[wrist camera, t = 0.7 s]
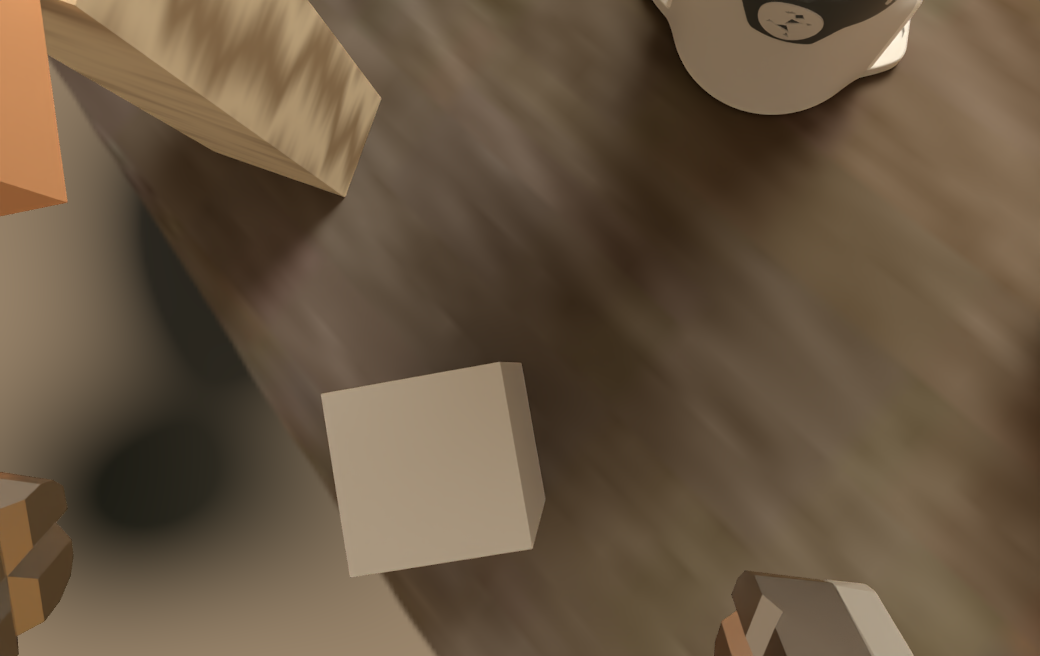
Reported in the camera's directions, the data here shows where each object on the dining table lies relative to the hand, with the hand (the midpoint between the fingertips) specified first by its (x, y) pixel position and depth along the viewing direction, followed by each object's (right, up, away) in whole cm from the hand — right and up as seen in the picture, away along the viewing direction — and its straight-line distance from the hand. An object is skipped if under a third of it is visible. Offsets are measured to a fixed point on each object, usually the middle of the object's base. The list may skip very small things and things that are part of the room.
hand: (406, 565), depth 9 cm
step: (-3, -5, +44) cm, 44 cm away
